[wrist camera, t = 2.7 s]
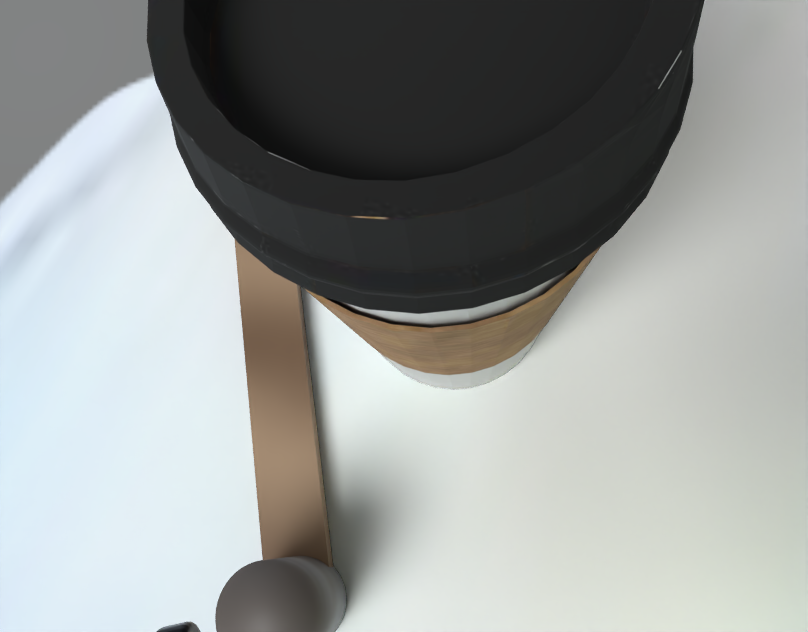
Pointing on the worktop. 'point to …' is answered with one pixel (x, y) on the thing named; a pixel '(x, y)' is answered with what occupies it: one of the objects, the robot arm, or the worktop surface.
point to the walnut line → (282, 471)
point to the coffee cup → (426, 152)
